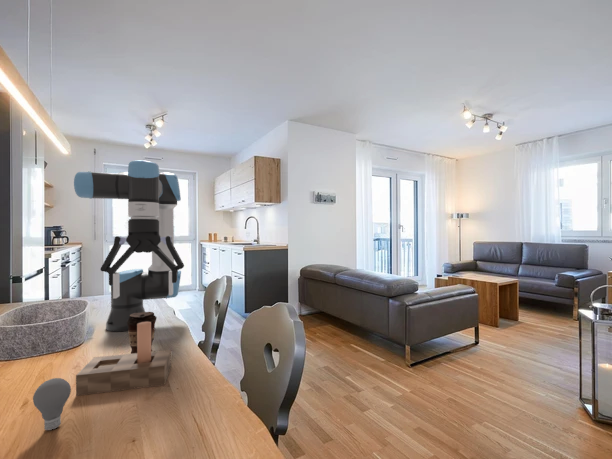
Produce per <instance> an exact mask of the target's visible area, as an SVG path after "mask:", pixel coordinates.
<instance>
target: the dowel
mask: <svg viewBox="0 0 612 459" xmlns="http://www.w3.org/2000/svg"><path fill="white" fill-rule="evenodd" d="M148 362H151V322H141V323H138V324H137V364H139V363H148Z"/></svg>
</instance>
